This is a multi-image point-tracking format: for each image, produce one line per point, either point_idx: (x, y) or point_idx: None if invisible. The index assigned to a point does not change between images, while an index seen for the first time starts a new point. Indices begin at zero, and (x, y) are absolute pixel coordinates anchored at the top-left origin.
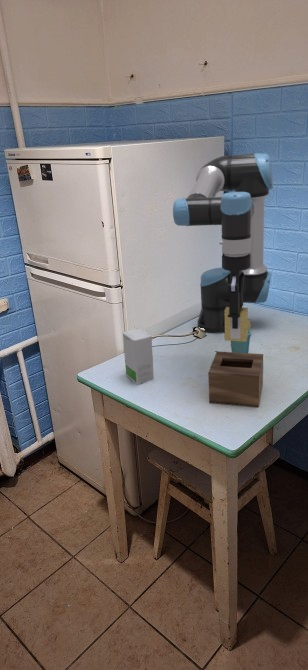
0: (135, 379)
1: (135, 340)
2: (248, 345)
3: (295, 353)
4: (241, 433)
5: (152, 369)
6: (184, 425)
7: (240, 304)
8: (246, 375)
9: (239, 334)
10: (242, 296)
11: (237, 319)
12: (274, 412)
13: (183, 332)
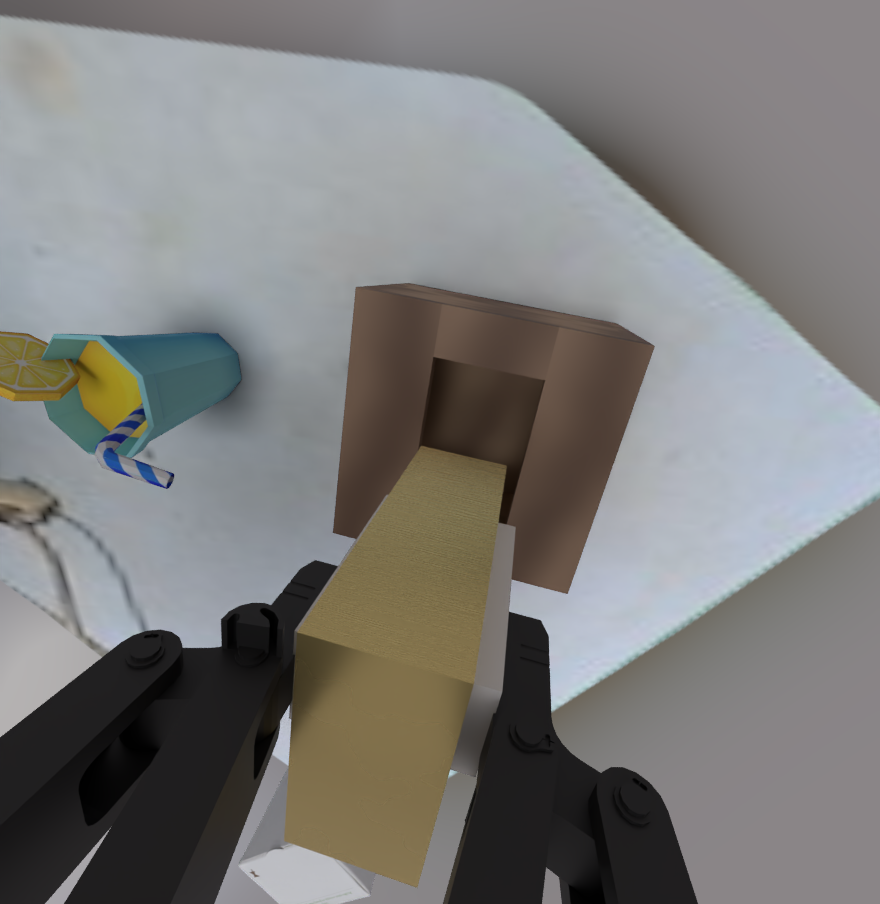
0: None
1: (367, 891)
2: (160, 341)
3: (88, 71)
4: (812, 414)
5: None
6: (704, 597)
7: (246, 744)
8: (629, 416)
9: (512, 555)
10: (37, 794)
11: (540, 710)
12: (670, 254)
13: (25, 554)
